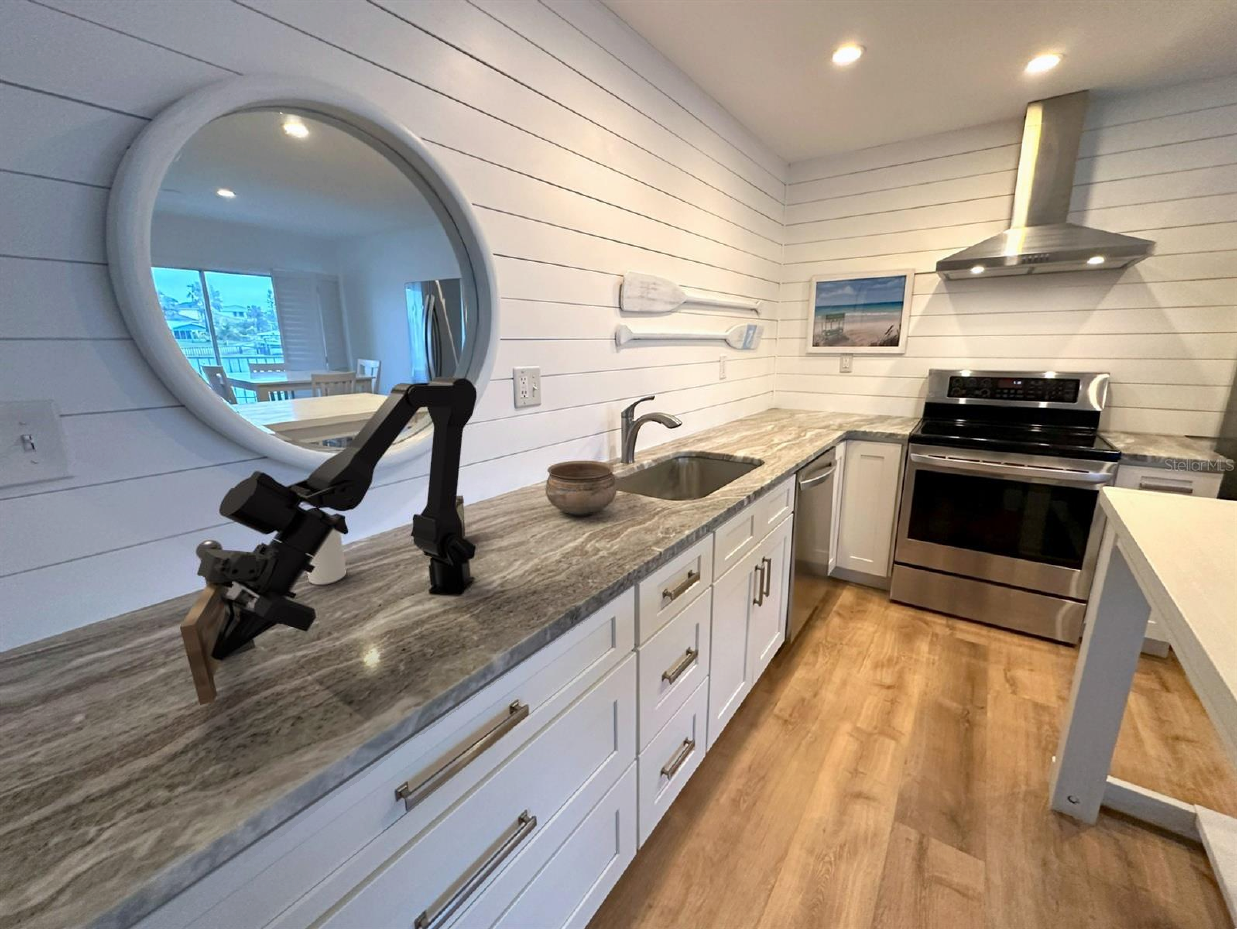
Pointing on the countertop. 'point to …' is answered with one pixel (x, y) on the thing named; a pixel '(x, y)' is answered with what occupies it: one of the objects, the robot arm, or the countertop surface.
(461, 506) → the food container
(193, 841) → the countertop surface
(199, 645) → the gate
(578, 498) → the cooking pot
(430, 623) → the countertop surface
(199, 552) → the gate post
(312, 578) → the can
